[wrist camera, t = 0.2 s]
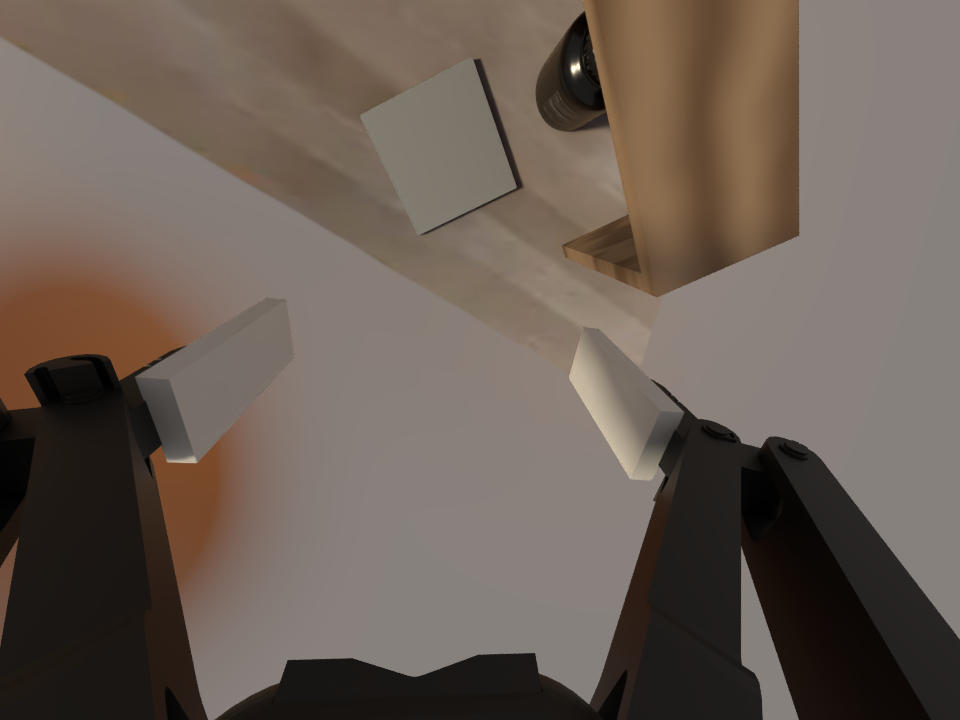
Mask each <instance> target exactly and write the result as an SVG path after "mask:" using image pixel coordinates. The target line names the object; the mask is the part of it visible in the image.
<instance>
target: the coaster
mask: <svg viewBox="0 0 960 720" xmlns="http://www.w3.org/2000/svg"><path fill="white" fill-rule="evenodd" d="M359 116H360V118H361V120H362V122H363V124H364V126H365V128H366V130H367V132H368V134H369V136H370V138H371V140H372V142H373V144H374V146H375V148H376V150H377V153H378V155H379V157H380V159H381V161H382V163H383V165H384V167H385V169H386V171H387V173H388V175H389V177H390V179H391V181H392V183H393V185H394V187H395V189H396V191H397V193H398V195H399V197H400V199H401V202H402V204H403V206H404V208H405V210H406V212H407V214H408V216H409V218H410V220H411V222H412V224H413V226H414V228H415V230H416V232H417V234H418V235H420V234H422V233H425V232H427V231H429V230H431V229H433V228H435V227H437V226H439V225H441V224H443V223H445V222H447V221H449V220H451V219H454V218H456V217H458V216H460V215H462V214H464V213H466V212H468V211H470V210H472V209H474V208H476V207H478V206H480V205H482V204H485V203H487V202H489V201H491V200H493V199H495V198H497V197H499V196H501V195H503V194H505V193H507V192H509V191H511V190H514V189H516V188H517V186H516V183H515V180H514V177H513V175H512V172H511V169H510V166H509V163H508V160H507V157H506V154H505V151H504V148H503V145H502V142H501V139H500V137H499V134H498V131H497V128H496V125H495V122H494V119H493V116H492V113H491V110H490V107H489V104H488V102H487V99H486V96H485V93H484V90H483V87H482V84H481V81H480V78H479V75H478V72H477V69H476V66H475V64H474V61H473V58H472V56H471V57H470V58H468V59H466V60H464V61H462V62H460V63H458V64H456V65H454V66H452V67H451V68H449V69H447V70H445V71H443V72H441V73H439V74H437V75H435V76H433V77H432V78H430V79H428V80H426V81H424V82H422V83H420V84H418V85H416V86H414V87H413V88H411V89H409V90H407V91H405V92H403V93H401V94H399V95H397V96H395V97H394V98H392V99H390V100H388V101H386V102H384V103H382V104H380V105H378V106H376V107H375V108H373V109H371V110H369V111H367V112H365V113H363V114H361V115H359Z"/></svg>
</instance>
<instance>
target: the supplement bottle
mask: <svg viewBox="0 0 960 720" xmlns="http://www.w3.org/2000/svg"><path fill="white" fill-rule="evenodd" d="M536 102H537V107H538V110H539V112H540V114H541V116H542V118H543V119H544V121H545V122H546V123H547V124H548V125H549V126H551V127H552V128H554V129H557V130H560V131H572V130H575V129H578V128H580V127H582V126H584V125H585V124H587V123H589V122H590V121H592V120H594V119H595V118H597V117H599V116H600V115H602V114H604V113H605V112H607V111H606V106H605V102H604V97H603V92H602V88H601V83H600V78H599V74H598V69H597V64H596V60H595V55H594V50H593V46H592V41H591V36H590V32H589V27H588V22H587V18H586V13H585V11H584V12H583V13H581V14H580V15H579V16H578V17H577V19H576V20H575V21H574V22H573V23H572V25H571V26H570V27H569V29H568V30H567V32H566V33H565V35H564V36H563V37H562V39H561V40H560V42H559V43H558V45H557V46H556V47H555V49H554V50H553V52H552V53H551V55H550V56H549V58H548V59H547V61H546V62H545V64H544V65H543V67H542V69H541V71H540V74H539V76H538V79H537V84H536Z"/></svg>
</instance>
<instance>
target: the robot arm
mask: <svg viewBox="0 0 960 720" xmlns="http://www.w3.org/2000/svg"><path fill="white" fill-rule="evenodd" d="M293 358H294V353H293V346H292V338H291V331H290V324H289V316H288V309H287V301H286V300H285V299H275V298H266V299H264V300H262V301H261V302H259V303H257V304H256V305H254V306H252V307H251V308H249V309H247V310H246V311H244V312H242V313H241V314H239V315H237V316H236V317H234V318H232V319H231V320H229V321H227V322H226V323H224V324H222V325H221V326H219V327H217V328H216V329H214V330H212V331H211V332H209V333H207V334H206V335H204V336H202V337H201V338H199V339H197V340H196V341H194V342H192V343H191V344H189V345H187V346H184V347H181V348H178V349H175V350H172V351H170V352H168V353H166V354H165V355H163V356H161V357H159V358H158V359H157V360H154V361H153V362H151V363H149V364H147V366H146V367H142V368H141V369H139V370H137V371H135V372H134V373H132V374H130V375H129V376H127V377H125V378H123V379H122V380H120V381H119V380H118V377H117V375H116V373H115V370H114V368H113V365H112V363H111V361H110V359H109V358H108V357H107V356H102V355H96V354H94V355H93V354H84V355H73V356H67V357H62V358H57V359H53V360H50V361H47V362H43V363H40V364H38V365H36V366H34V367H32V368H30V369H29V370H28V371H27V372H26V373H25V374H24V375H25V376H26V378H27V380H28V382H29V384H30V386H31V388H32V389H33V391H34V393H35V395H36V397H37V398H38V400H39V402H40V404H41V407H38V408H29V409H19V410H7V408H6V407H5V405H4V403H3V402H2V400H1V399H0V567H1V565H2V564H3V562H4V560H5V559H6V557H7V555H8V554H9V552H10V550H11V549H12V547H13V545H14V544H15V542H16V541H17V539H18V537H19V540H18V546H17V551H16V558H15V563H14V570H13V575H12V581H11V587H10V594H9V599H8V605H7V611H6V617H5V622H4V629H3V635H2V640H1V646H0V720H208V718H207V715H206V713H205V710H204V707H203V704H202V701H201V697H200V693H199V689H198V684H197V680H196V675H195V670H194V665H193V660H192V655H191V650H190V645H189V640H188V635H187V630H186V625H185V620H184V615H183V610H182V605H181V600H180V595H179V591H178V585H177V580H176V575H175V570H174V565H173V560H172V555H171V550H170V545H169V541H168V536H167V531H166V525H165V521H164V516H163V511H162V506H161V501H160V496H159V491H158V486H157V481H156V476H155V471H154V466H153V463H152V461H151V458H150V455H151V454H152V453H153V452H154V451H155V450H156V449H157V448H159V447H160V446H161V447H162V450H163V452H164V455H165V458H166V460H167V462H180V463H198V462H199V460H200V459H201V458H202V457H203V456H204V455H205V454H206V453H207V452H208V451H209V449H210V448H211V447H212V446H213V445H214V444H215V443H216V442H217V441H218V440H219V439H220V438H221V437H222V435H223V434H224V433H225V432H226V431H227V430H228V429H229V428H230V427H231V426H232V424H234V422H235V421H236V420H237V419H238V418H239V417H240V416H241V415H242V414H243V413H244V412H245V411H246V409H247V408H248V407H249V406H250V405H251V404H252V403H253V402H254V401H255V400H256V399H257V397H258V396H259V395H260V394H261V393H262V392H263V391H264V390H265V389H266V388H267V387H268V385H270V383H271V382H272V381H273V380H274V379H275V378H276V377H277V376H278V375H279V374H280V373H281V371H282V370H283V369H284V368H285V367H286V366H287V365H288V364H289V363H290V362H291V361H292V359H293ZM569 379H570V381H571V382H572V384H573V386H574V387H575V389H576V391H577V392H578V394H579V396H580V397H581V399H582V401H583V402H584V404H585V405H586V407H587V409H588V410H589V412H590V414H591V415H592V417H593V419H594V420H595V422H596V424H597V425H598V427H599V428H600V430H601V432H602V433H603V435H604V437H605V438H606V440H607V442H608V443H609V445H610V447H611V448H612V450H613V451H614V453H615V455H616V456H617V458H618V460H619V461H620V463H621V465H622V466H623V468H624V469H625V471H626V473H627V474H628V476H629V478H630V479H636V480H652V479H653V477H654V475H655V473H656V471H657V468H658V466H660V468H661V469H662V471H663V472H664V473H665V477H664V479H663V481H662V483H661V485H660V487H659V489H658V491H657V493H656V495H655V497H654V499H653V500H654V501H655V506H654V509H653V512H652V515H651V518H650V521H649V525H648V528H647V532H646V535H645V538H644V541H643V544H642V547H641V550H640V554H639V557H638V560H637V563H636V566H635V570H634V573H633V576H632V579H631V583H630V586H629V589H628V592H627V595H626V598H625V602H624V605H623V608H622V611H621V615H620V618H619V621H618V624H617V627H616V630H615V634H614V637H613V640H612V643H611V647H610V650H609V653H608V656H607V659H606V662H605V666H604V669H603V672H602V675H601V678H600V681H599V683H598V686H597V688H596V690H595V693H594V695H593V698H592V700H591V702H590V705H589V704H588V703H586V702H585V701H584V700H583V699H582V698H581V697H579V696H578V695H577V694H576V693H575V692H573V691H572V690H570V689H568V688H567V687H566V686H564V685H562V684H561V683H559V682H557V681H555V680H553V679H551V678H549V677H547V676H544V675H541V674H539V673H538V667H537V662H536V656H535V653H524V654H489V655H476V656H474V657H471V658H468V659H466V660H463V661H460V662H457V663H455V664H452V665H449V666H447V667H444V668H441V669H439V670H436V671H433V672H430V673H427V674H425V675H422V676H418V677H411V676H407V675H404V674H401V673H397V672H394V671H391V670H388V669H385V668H382V667H378V666H375V665H372V664H369V663H365V662H362V661H359V660H356V659H353V658H347V659H315V660H314V659H313V660H288V661H287V664H286V667H285V669H284V672H283V676H282V679H281V681H280V683H278V684H275V685H273V686H270V687H268V688H266V689H264V690H261V691H259V692H257V693H255V694H253V695H251V696H249V697H248V698H246V699H245V700H243V701H241V702H240V703H238V704H236V705H235V706H233V707H231V708H230V709H229V710H227V711H226V712H225V713H223V714H222V715H221V716H219V717H218V718H216V719H215V720H763V716H762V697H761V690H760V684H759V681H758V679H757V677H756V675H755V674H754V673H753V672H752V671H750V670H749V669H747V668H746V667H744V666H742V663H741V547H742V549H743V553H744V556H745V558H746V562H747V565H748V568H749V570H750V574H751V577H752V580H753V583H754V586H755V589H756V592H757V595H758V598H759V601H760V603H761V607H762V610H763V613H764V616H765V619H766V622H767V625H768V628H769V631H770V633H771V637H772V640H773V643H774V646H775V649H776V652H777V655H778V658H779V661H780V664H781V667H782V670H783V673H784V676H785V679H786V682H787V685H788V688H789V691H790V694H791V697H792V700H793V703H794V706H795V709H796V712H797V715H798V718H799V720H960V639H959V638H958V637H957V635H956V634H955V633H954V631H953V630H952V629H951V628H950V626H949V625H948V624H947V622H946V621H945V620H944V618H943V617H942V616H941V615H940V613H939V612H938V611H937V609H936V608H935V607H934V605H933V604H932V603H931V602H930V600H929V599H928V598H927V596H926V595H925V594H924V593H923V591H922V590H921V589H920V587H919V586H918V585H917V583H916V582H915V581H914V579H913V578H912V577H911V576H910V575H909V573H908V572H907V570H906V569H905V568H904V566H903V565H902V564H901V563H900V561H899V560H898V559H897V557H896V556H895V555H894V554H893V552H892V551H891V550H890V548H889V547H888V546H887V544H886V543H885V542H884V541H883V539H882V538H881V537H880V535H879V534H878V533H877V531H876V530H875V529H874V527H872V525H871V524H870V522H869V521H868V520H867V518H866V517H865V516H864V514H863V513H862V512H861V511H860V509H859V508H858V507H857V505H856V504H855V503H854V502H853V500H852V499H851V498H850V496H849V495H848V494H847V492H846V491H845V490H844V489H843V487H842V486H841V485H840V484H839V482H838V481H837V479H836V478H835V477H834V476H833V474H832V473H831V472H830V470H829V469H828V468H827V466H826V465H825V464H824V463H823V461H822V460H821V459H820V458H819V457H818V456H817V455H816V454H815V453H814V452H812V451H810V450H809V449H808V448H807V447H806V446H804V445H802V444H799V443H798V442H796V441H793V440H792V441H791V440H788V439H785V438H781V437H769V438H768V439H766V441H765V443H764V444H763V446H762V447H761V448H758V447H754V446H750V445H746V444H742V443H741V441H740V439H739V437H738V436H737V435H736V434H735V433H734V432H732V431H731V430H730V429H728V428H726V427H724V426H722V425H720V424H718V423H716V422H712V421H709V420H703V419H697V418H696V417H695V416H694V415H693V414H692V413H691V412H690V411H689V410H688V409H687V408H686V407H684V406H683V404H681V403H680V402H678V400H677V399H676V398H675V397H674V396H672V395H671V393H670V392H669V391H668V390H667V389H666V388H665V387H663V386H662V385H660V384H659V383H657V382H655V381H654V380H652V379H650V378H649V377H648V376H647V375H645V374H644V373H643V372H642V371H641V370H640V369H639V368H638V367H637V366H636V365H635V364H634V363H633V362H632V361H631V360H630V359H629V358H628V357H627V356H626V355H625V354H624V353H623V352H622V351H621V350H620V349H619V348H618V347H617V346H616V345H615V344H614V343H613V342H612V341H611V340H610V339H608V338H607V337H606V336H605V335H604V334H603V333H602V332H601V331H600V330H599V329H595V328H584V327H583V330H582V333H581V337H580V340H579V344H578V348H577V351H576V355H575V358H574V362H573V365H572V369H571V373H570V376H569Z"/></svg>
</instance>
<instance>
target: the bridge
mask: <svg viewBox="0 0 960 720" xmlns="http://www.w3.org/2000/svg"><path fill="white" fill-rule="evenodd" d="M583 4H584V8H585V13H586V18H587V22H588V27H589V32H590V36H591V41H592V46H593V50H594V55H595V60H596V64H597V69H598V74H599V78H600V83H601V88H602V92H603V97H604V102H605V106H606V111H607V116H608V120H609V125H610V130H611V134H612V139H613V144H614V148H615V153H616V158H617V162H618V167H619V172H620V176H621V181H622V186H623V190H624V195H625V200H626V204H627V209H628V214H629V215H627V216H625V217H623V218H621V219H618V220H616V221H614V222H612V223H610V224H608V225H605V226H603V227H601V228H599V229H597V230H595V231H592V232H590V233H588V234H586V235H584V236H582V237H579V238H577V239H575V240H573V241H571V242H569V243H566V244H564V245H562V247H563V250H564V254H565V257H566V258H568V259H571V260H573V261H575V262H578V263H580V264H582V265H584V266H587V267H589V268H591V269H594V270H596V271H598V272H600V273H603V274H605V275H607V276H609V277H612V278H614V279H616V280H619V281H621V282H623V283H625V284H628V285H630V286H632V287H635V288H637V289H639V290H641V291H644V292H646V293H648V294H650V295H653V296H655V297H659V296H661V295H663V294H666V293H668V292H670V291H673V290H675V289H677V288H679V287H682V286H684V285H686V284H689V283H691V282H693V281H696V280H698V279H700V278H702V277H705V276H707V275H709V274H711V273H714V272H716V271H719V270H721V269H723V268H725V267H728V266H730V265H732V264H735V263H737V262H739V261H741V260H744V259H746V258H748V257H750V256H753V255H755V254H758V253H760V252H762V251H764V250H767V249H769V248H771V247H773V246H776V245H778V244H780V243H783V242H785V241H787V240H789V239H792V238H794V237H796V236H799V0H583Z"/></svg>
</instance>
